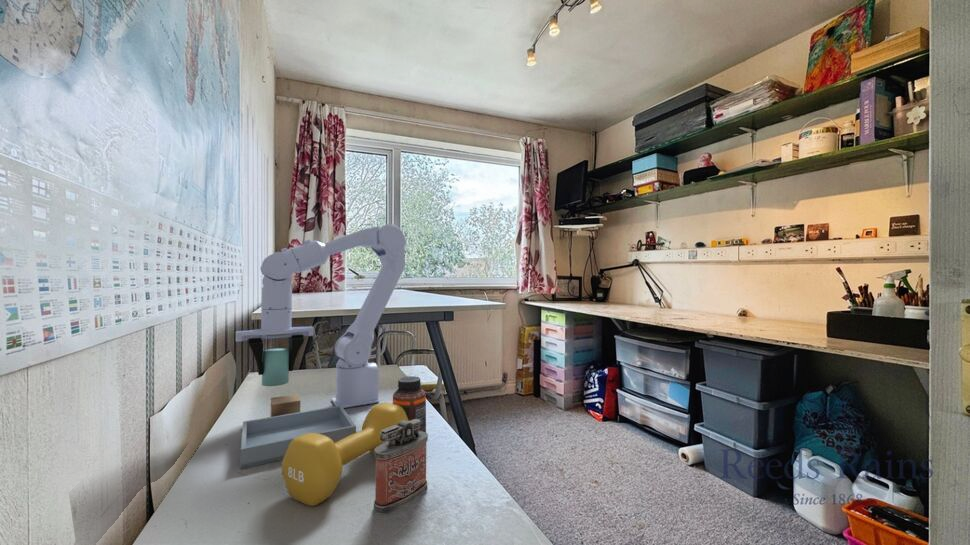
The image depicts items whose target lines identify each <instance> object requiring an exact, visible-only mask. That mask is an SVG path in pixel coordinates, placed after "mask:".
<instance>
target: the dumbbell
mask: <svg viewBox="0 0 970 545" xmlns="http://www.w3.org/2000/svg"><path fill="white" fill-rule="evenodd" d="M401 420H405V421H407V422H408V421H409V420H408V418H407V415H406V413H405V411H404V409H403V408H402V407H401V406H399V405H396V404H393V403H391V402H379V403H378V404H375V405H374V406H372V407H371V408H370V410H368V412H367V414H366V416H365V419H364V421H363V423H362V425H361V430H360V431H356V433H354V434H352V435H350V436H348V437H346V438H344V439H342V440H340V441H338V442H336V443H334V442H333V440H332V439H330V438H329V437H327V436H324V435H321V434H317V433H307V434H304V435H301V436H299V437H296V438H295V439H293V440H292V441H291V443H290V444H289V447H288V449H287V451H286V453H285V456H284V458H283V460H281V473H282V474H281V475H282V477H283V480H284V482H285V483H284V484H285V487H286V490H287V492H288V494H289V496H290V497H291V498H292V499H294V500H296V501H297V502H300V503H301V504H304V505H306V506H310V507H315V506H317V505H319V504H321V503H322V502H324V501H325V500H327V499H328V498H329V497H330V496H332V494H333V493H334V491H335V489H336V488H337V486H338V484H339V481H340V479H341V477H342V473H343V466H345V465H347V464H348V463H351V462H352V461H354V460H355V459H357V458H359V457H361V456H363V455H366V453H371V454H373V455H374V449H375V448H376V447H377V446H379V445H381V444H383V443H385V442H383V441H381V440H380V432H381V431H382V430H383V429H386V428H389V427H391V426H394V425H396V426H397V424H398V422H399V421H401ZM386 442H387V441H386Z"/></svg>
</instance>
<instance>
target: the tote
mask: <svg viewBox="0 0 970 545" xmlns="http://www.w3.org/2000/svg"><path fill="white" fill-rule="evenodd" d="M241 431H242V432H241V433H242V434H241V440H240V441H241V444H240V470H242V469H247V468H251V467H256V466H260V465H265V464H269V463H273V462H278V461H283V458H284V456H285V453H286V451H287V449H288V447H289V444H290V443H291V441H292V440H293V439H295V438H296V437H299V436H301V435H304V434H307V433H317V434H321V435H324V436H327V437H329V438H330V439H332V440H333V442H334V443H336V442H338V441H340V440H342V439H344V438H346V437H348V436H350V435H352V434H354V433H357V426H356V424H355V422H354V421H353V420H352V418H351V417H350V415H349V414H348V413H347V411H346V410H345V408H343V407H342V405H339V406H335V405H334V406H328V407H322V408H317V409H311V410H303V411H300V412H298V413H292V414H286V415H280V416H274V417H271V416H269V417H262V418H257V419H250V420H245V421H243V422H242V430H241Z"/></svg>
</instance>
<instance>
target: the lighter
mask: <svg viewBox="0 0 970 545" xmlns="http://www.w3.org/2000/svg"><path fill="white" fill-rule="evenodd" d="M419 428H420V420H419V419H413V420H411V421H408V422H407V421H405V420H401V421H399V422H398V424H397V426H396V425H394V426H391V427H389V428H386V429H383V430H382V431H381V432H380V440H381V441H383V442H385V443H383V444H381V445H379V446H377V447H376V448H375V449H374V454H373V455H374V458H375V494H374V495H375V497H374V501H373V510H374V512H375V513H376V514H379V515H386V514H389V513H392V512H394V511H396V510H399V509H401V508H403V507H405V506H407V505H408V504H411V503H412V502H413V501H415V500H417V499H418V498H420V496H422V495H423V494H424V493H426V492H427V491H426V490H428V480H427V442H428V439H429V438H428V436H429V434H428V433H427V431H426V432H423V431H419ZM386 441H387V442H386ZM425 491H426V492H425Z"/></svg>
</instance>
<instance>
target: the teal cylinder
mask: <svg viewBox="0 0 970 545" xmlns="http://www.w3.org/2000/svg"><path fill="white" fill-rule="evenodd" d="M289 354H290V349H289V348H283V347H282V348H270V349H265V350H264V349H263V357H262V361H263V375H261V386H262V387H263V386H264V387H277V386H283V385H286V384H288V383H289V379H290V371H289Z"/></svg>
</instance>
